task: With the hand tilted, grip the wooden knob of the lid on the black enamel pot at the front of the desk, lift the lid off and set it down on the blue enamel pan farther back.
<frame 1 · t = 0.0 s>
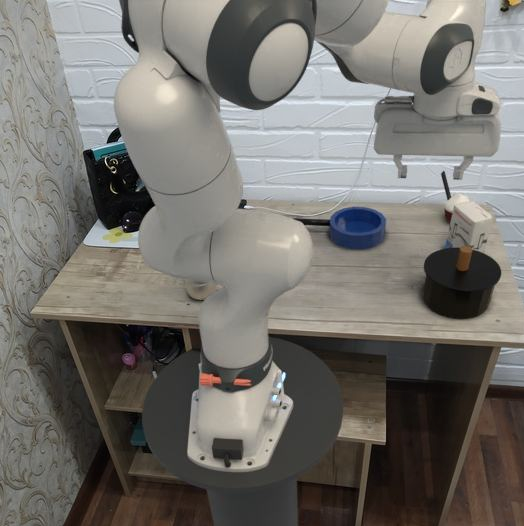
hand: (429, 177, 100), 30 cm above the table, tool pointing down, fingers open, 8 cm apart
ink box: (462, 255, 134), on the table
pan: (356, 234, 143), on the table
plastic bottle: (202, 295, 128), on the table
pot: (455, 298, 122), on the table
cocoa: (453, 220, 146), on the table
pan handle: (311, 222, 143), point 2 cm above the table
lid: (461, 269, 117), point 7 cm above the table, touching pot
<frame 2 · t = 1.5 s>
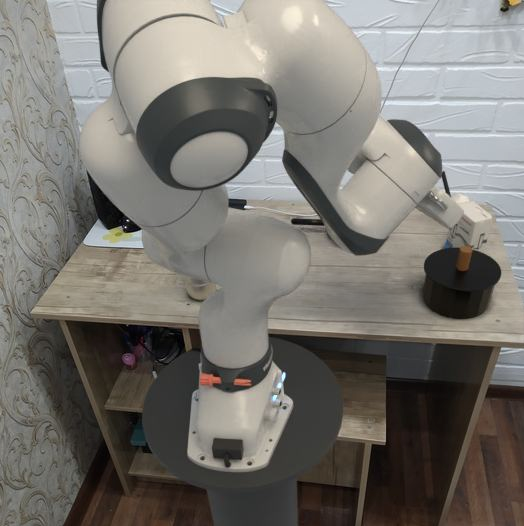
hand: (430, 209, 101), 25 cm above the table, tool tilted 45°, fingers open, 8 cm apart
nothing on the table moved.
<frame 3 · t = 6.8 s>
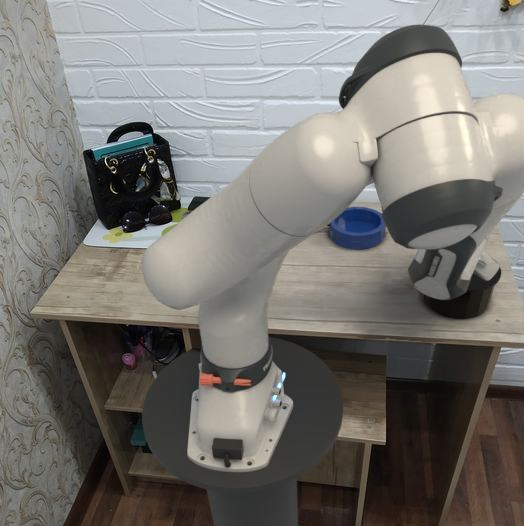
hand: (465, 259, 116), 10 cm above the table, tool tilted 45°, fingers closed on lid, 2 cm apart
lid: (461, 269, 117), point 8 cm above the table, touching gripper, pot
everything else where it was.
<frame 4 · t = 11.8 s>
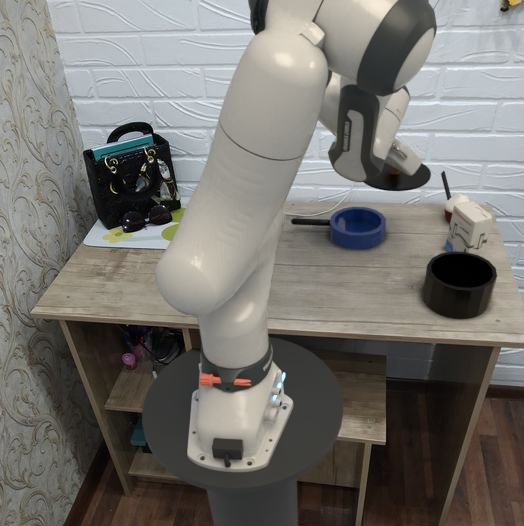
hand: (397, 164, 122), 22 cm above the table, tool tilted 45°, fingers closed on lid, 2 cm apart
lid: (394, 174, 123), point 20 cm above the table, touching gripper
everything else where it was.
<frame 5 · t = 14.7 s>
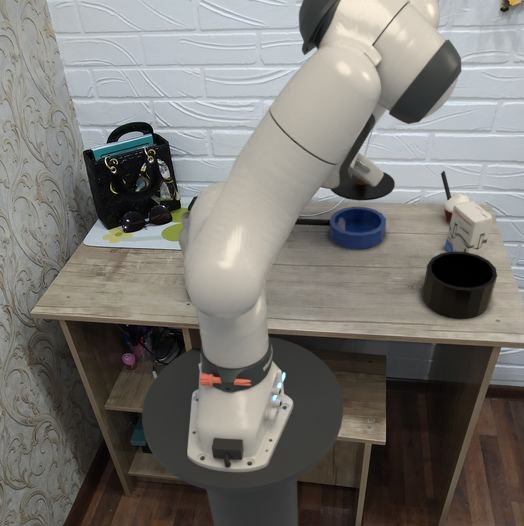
hand: (364, 175, 132), 16 cm above the table, tool tilted 45°, fingers closed on lid, 2 cm apart
lid: (361, 184, 134), point 14 cm above the table, touching gripper
everything else where it was.
when the fingers open (6 cm above the table, at t = 17.3 s): lid stays where it is, resting on pan.
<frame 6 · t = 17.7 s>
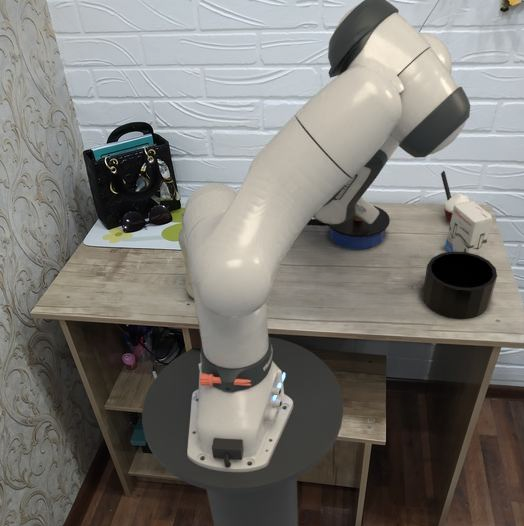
hand: (360, 210, 139), 6 cm above the table, tool tilted 45°, fingers open, 7 cm apart
lid: (358, 220, 140), point 4 cm above the table, touching pan
everything else where it was.
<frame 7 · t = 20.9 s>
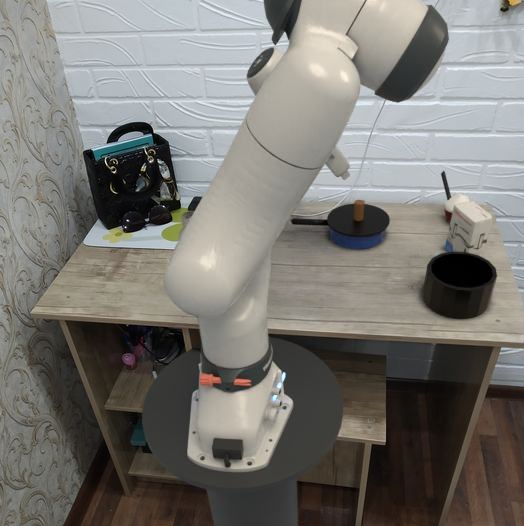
hand: (337, 166, 125), 21 cm above the table, tool tilted 35°, fingers open, 8 cm apart
nothing on the table moved.
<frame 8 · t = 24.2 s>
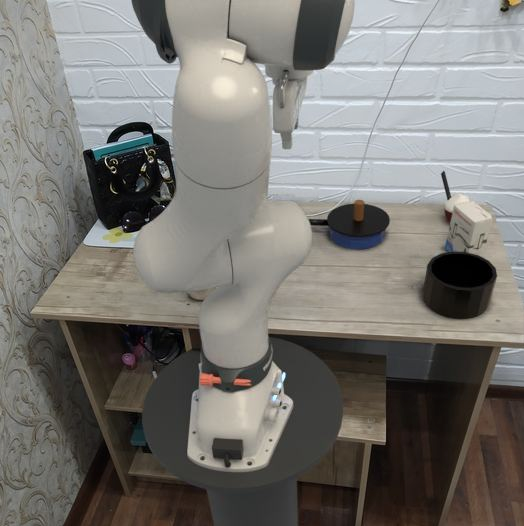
hand: (290, 137, 112), 31 cm above the table, tool pointing down, fingers open, 8 cm apart
nothing on the table moved.
at the end: lid 0.1 cm off-centre on the pan, point 4.0 cm above the pan's base; lid tilted 0°; the gripper is holding nothing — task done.
